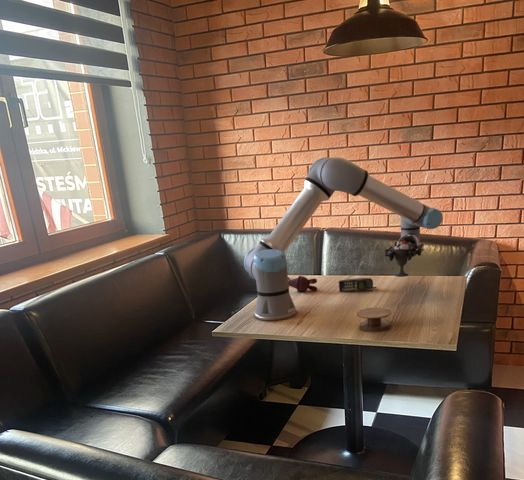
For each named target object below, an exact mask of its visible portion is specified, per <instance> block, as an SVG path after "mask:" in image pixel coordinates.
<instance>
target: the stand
mask: <svg viewBox="0 0 524 480" xmlns="http://www.w3.org/2000/svg"><path fill="white" fill-rule="evenodd" d="M391 315H392V310H391V309H389V308H386V307H366V308H361V309H360V310H358V311H357V312H356V316H357V317H358V318H361V319H365V320H362V321H360V322H359V324H358V326H359V327H358V328H359V330H360V331H363V332H369V333H372V332H373V333H376V332H383V331H386V330H388V329H389V328H390V321H388V320H386V319H384V318H388V317H389V316H391Z"/></svg>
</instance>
